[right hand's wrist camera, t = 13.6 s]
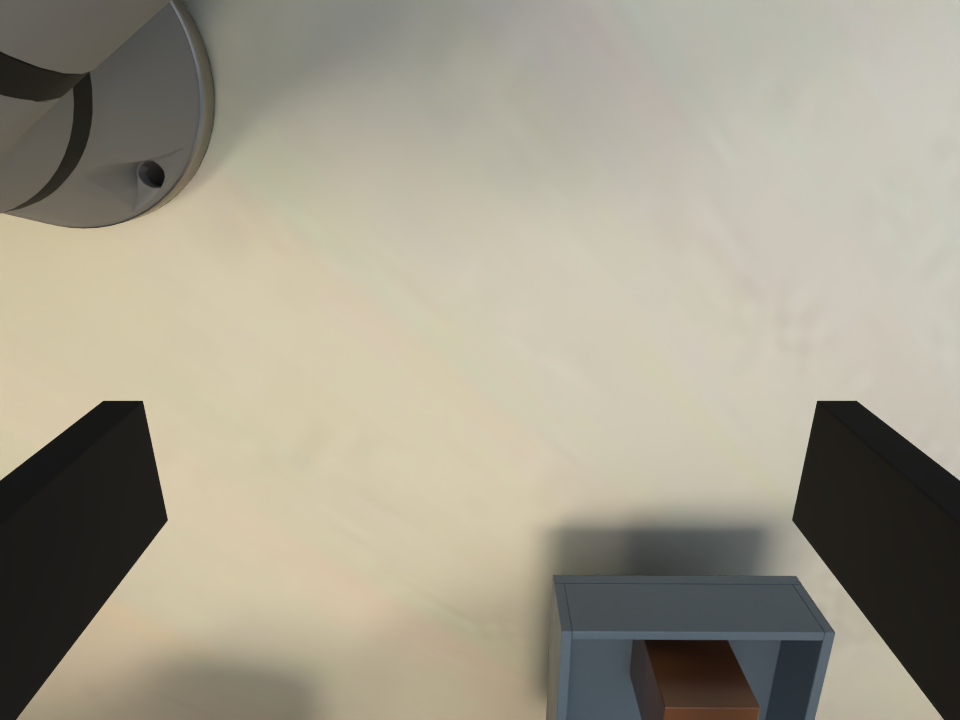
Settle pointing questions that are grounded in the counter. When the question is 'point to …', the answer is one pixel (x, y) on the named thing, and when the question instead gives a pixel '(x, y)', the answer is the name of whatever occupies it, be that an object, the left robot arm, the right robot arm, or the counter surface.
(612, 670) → the tray
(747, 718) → the block
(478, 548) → the counter surface
